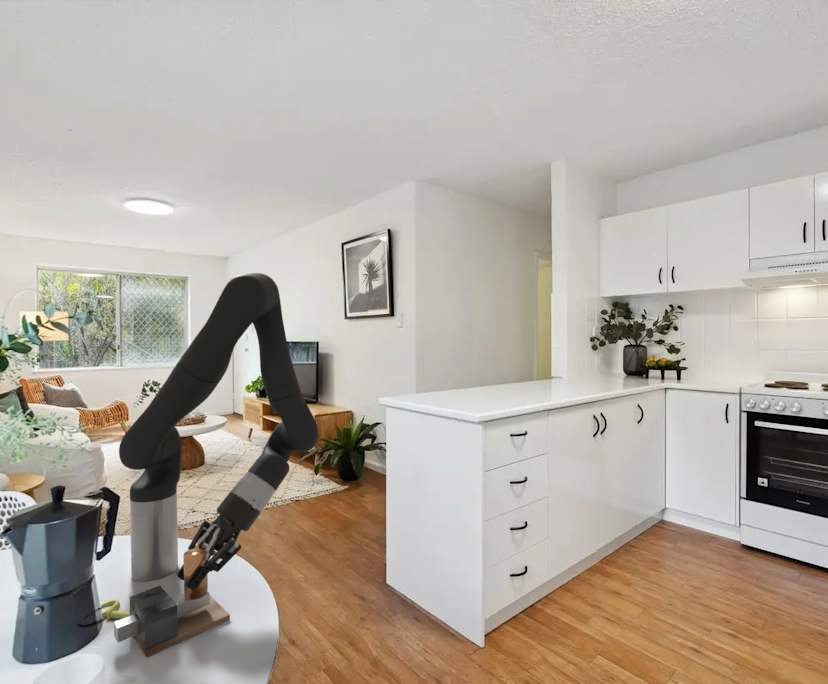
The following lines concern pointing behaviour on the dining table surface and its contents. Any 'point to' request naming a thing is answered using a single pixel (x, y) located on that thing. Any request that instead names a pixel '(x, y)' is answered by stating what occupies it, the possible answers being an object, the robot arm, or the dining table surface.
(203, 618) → the base board
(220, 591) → the dining table surface
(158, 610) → the block
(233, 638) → the dining table surface
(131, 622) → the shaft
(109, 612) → the key
